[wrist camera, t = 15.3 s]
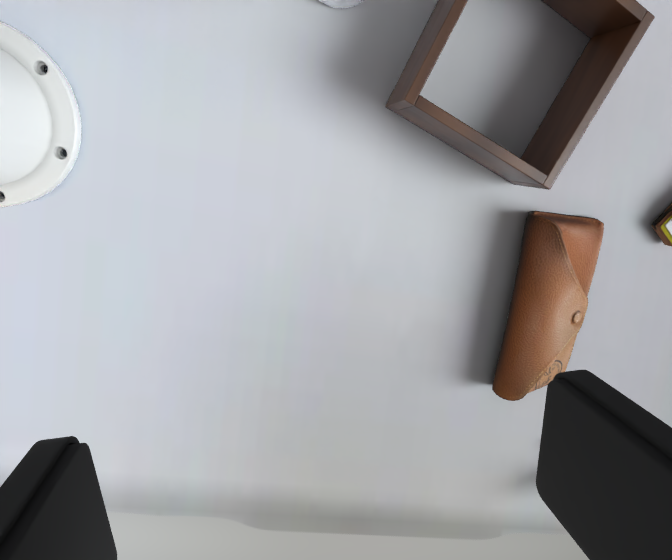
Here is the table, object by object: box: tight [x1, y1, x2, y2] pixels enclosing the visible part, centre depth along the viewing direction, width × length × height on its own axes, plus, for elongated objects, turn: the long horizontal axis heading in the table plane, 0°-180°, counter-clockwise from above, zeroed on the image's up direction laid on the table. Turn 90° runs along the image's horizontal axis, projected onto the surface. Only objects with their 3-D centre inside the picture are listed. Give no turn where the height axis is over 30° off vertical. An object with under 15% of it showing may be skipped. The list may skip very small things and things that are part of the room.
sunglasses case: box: [492, 211, 604, 401], centre depth 40 cm, size 18×7×7 cm
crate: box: [385, 0, 654, 189], centre depth 32 cm, size 14×14×5 cm
